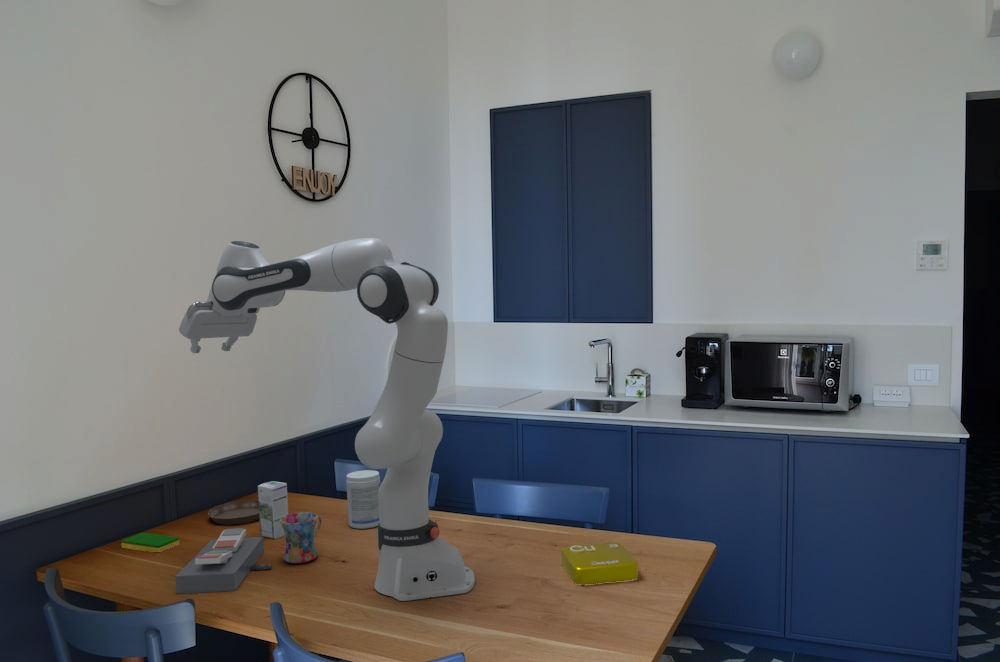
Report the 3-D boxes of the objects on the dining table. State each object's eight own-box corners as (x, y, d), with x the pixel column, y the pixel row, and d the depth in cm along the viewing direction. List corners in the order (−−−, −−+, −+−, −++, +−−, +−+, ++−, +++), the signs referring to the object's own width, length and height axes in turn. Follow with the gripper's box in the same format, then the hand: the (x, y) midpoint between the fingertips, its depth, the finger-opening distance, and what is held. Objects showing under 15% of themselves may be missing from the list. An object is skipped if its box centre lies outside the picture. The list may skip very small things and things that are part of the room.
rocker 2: (232, 559, 180) (232, 549, 181) (220, 567, 171) (220, 556, 172) (208, 561, 180) (208, 550, 180) (195, 568, 171) (195, 557, 171)
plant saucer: (222, 531, 214) (222, 521, 214) (199, 518, 227) (198, 508, 227) (281, 517, 226) (280, 507, 226) (255, 506, 239) (254, 496, 239)
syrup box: (290, 533, 209) (288, 482, 208) (273, 540, 204) (271, 487, 204) (276, 530, 212) (273, 479, 212) (259, 537, 207) (256, 484, 207)
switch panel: (284, 551, 195) (283, 536, 195) (258, 589, 170) (257, 572, 170) (212, 554, 194) (212, 539, 194) (176, 593, 169) (175, 576, 169)
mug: (300, 568, 182) (297, 525, 182) (273, 562, 187) (271, 520, 187) (335, 553, 193) (333, 512, 192) (309, 547, 198) (307, 507, 197)
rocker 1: (246, 536, 193) (245, 528, 192) (236, 554, 184) (235, 545, 183) (224, 537, 192) (223, 529, 192) (213, 556, 184) (212, 547, 183)
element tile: (575, 588, 166) (575, 567, 166) (559, 564, 181) (559, 544, 181) (641, 582, 168) (640, 561, 168) (620, 559, 183) (619, 539, 183)
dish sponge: (159, 554, 197) (158, 545, 197) (120, 549, 202) (120, 540, 202) (180, 546, 203) (179, 537, 203) (143, 540, 209) (142, 532, 209)
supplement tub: (389, 524, 215) (387, 473, 214) (361, 532, 209) (358, 479, 208) (369, 517, 222) (367, 468, 221) (341, 525, 216) (339, 474, 215)
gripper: (199, 307, 177) (182, 359, 181) (265, 307, 195) (249, 354, 199) (182, 295, 180) (166, 347, 183) (249, 296, 198) (234, 343, 201)
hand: (210, 351), depth 191 cm, fingers open, 8 cm apart
